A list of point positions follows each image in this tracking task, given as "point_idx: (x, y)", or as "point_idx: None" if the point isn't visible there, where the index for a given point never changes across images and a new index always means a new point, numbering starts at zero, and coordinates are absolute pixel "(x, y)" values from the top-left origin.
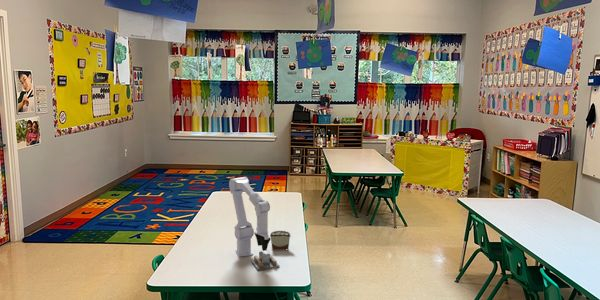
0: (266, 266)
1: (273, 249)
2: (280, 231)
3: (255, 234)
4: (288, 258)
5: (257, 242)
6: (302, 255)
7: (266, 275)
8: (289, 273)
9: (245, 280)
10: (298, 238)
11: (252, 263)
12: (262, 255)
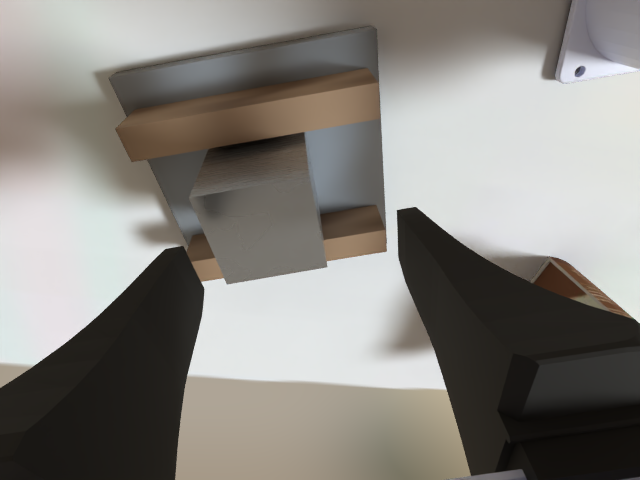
0: (184, 176)
1: (548, 267)
2: None
3: (512, 358)
4: (353, 326)
5: (425, 231)
6: (372, 385)
7: (12, 144)
8: (91, 306)
9: None
10: None
11: (320, 35)
12: (194, 199)
